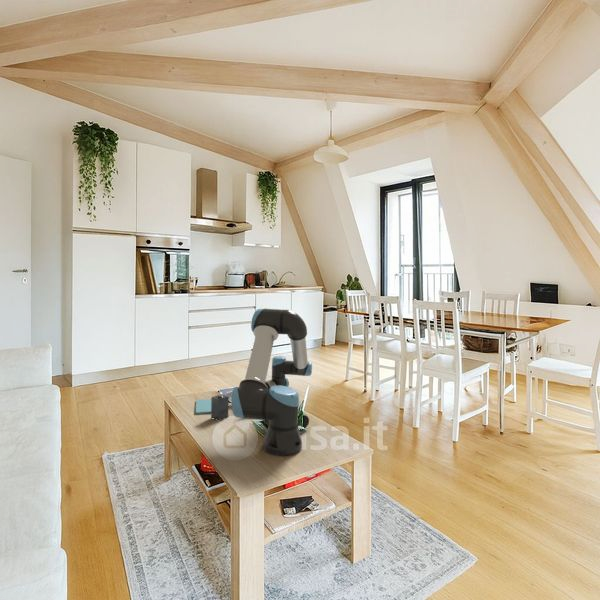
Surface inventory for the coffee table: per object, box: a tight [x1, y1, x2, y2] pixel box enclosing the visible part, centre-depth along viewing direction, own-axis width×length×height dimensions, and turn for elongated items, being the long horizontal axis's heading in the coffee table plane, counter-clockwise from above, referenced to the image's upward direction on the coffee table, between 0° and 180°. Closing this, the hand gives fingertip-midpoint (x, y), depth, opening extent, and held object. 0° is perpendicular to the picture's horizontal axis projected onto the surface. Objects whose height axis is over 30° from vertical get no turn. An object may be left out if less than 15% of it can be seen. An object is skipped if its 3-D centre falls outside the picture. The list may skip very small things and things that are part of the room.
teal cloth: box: [195, 398, 211, 415], centre depth 187 cm, size 18×12×1 cm, turn 15°
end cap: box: [303, 413, 310, 429], centre depth 166 cm, size 10×7×7 cm
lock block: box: [210, 391, 230, 421], centre depth 173 cm, size 6×5×12 cm
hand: (235, 398), depth 181 cm, fingers open, 13 cm apart
